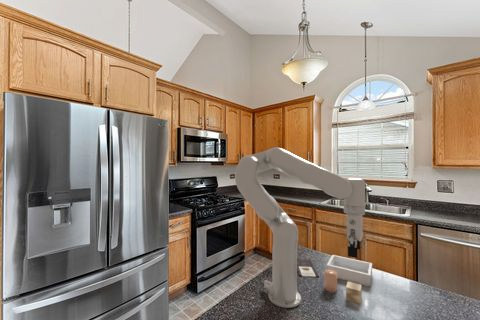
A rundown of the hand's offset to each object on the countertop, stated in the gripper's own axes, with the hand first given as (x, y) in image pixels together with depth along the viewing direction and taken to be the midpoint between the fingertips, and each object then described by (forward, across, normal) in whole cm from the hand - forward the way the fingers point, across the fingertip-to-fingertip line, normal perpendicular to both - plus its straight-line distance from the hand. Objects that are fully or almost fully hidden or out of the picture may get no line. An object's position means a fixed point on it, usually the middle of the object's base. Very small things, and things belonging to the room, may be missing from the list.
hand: (354, 252), depth 89 cm
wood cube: (+18, 0, 0) cm, 18 cm away
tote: (+18, +20, +4) cm, 27 cm away
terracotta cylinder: (+18, +2, +9) cm, 20 cm away
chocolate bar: (+19, +15, +24) cm, 34 cm away
